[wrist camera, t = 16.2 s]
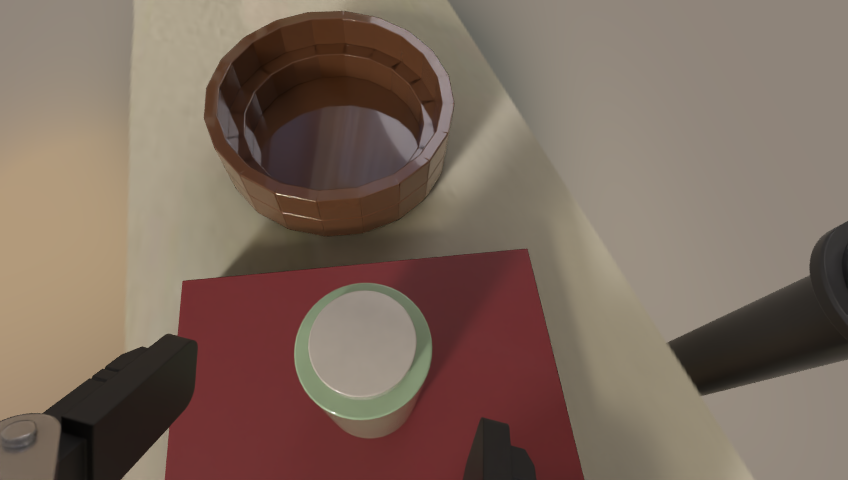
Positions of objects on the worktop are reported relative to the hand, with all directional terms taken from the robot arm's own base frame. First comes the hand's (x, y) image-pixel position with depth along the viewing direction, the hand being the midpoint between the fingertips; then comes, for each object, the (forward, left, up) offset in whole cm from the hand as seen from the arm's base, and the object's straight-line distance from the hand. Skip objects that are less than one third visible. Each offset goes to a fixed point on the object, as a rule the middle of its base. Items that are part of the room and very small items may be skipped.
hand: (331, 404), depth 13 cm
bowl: (0, -20, -15) cm, 25 cm away
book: (-1, -2, -15) cm, 15 cm away
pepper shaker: (-1, -2, -12) cm, 12 cm away
